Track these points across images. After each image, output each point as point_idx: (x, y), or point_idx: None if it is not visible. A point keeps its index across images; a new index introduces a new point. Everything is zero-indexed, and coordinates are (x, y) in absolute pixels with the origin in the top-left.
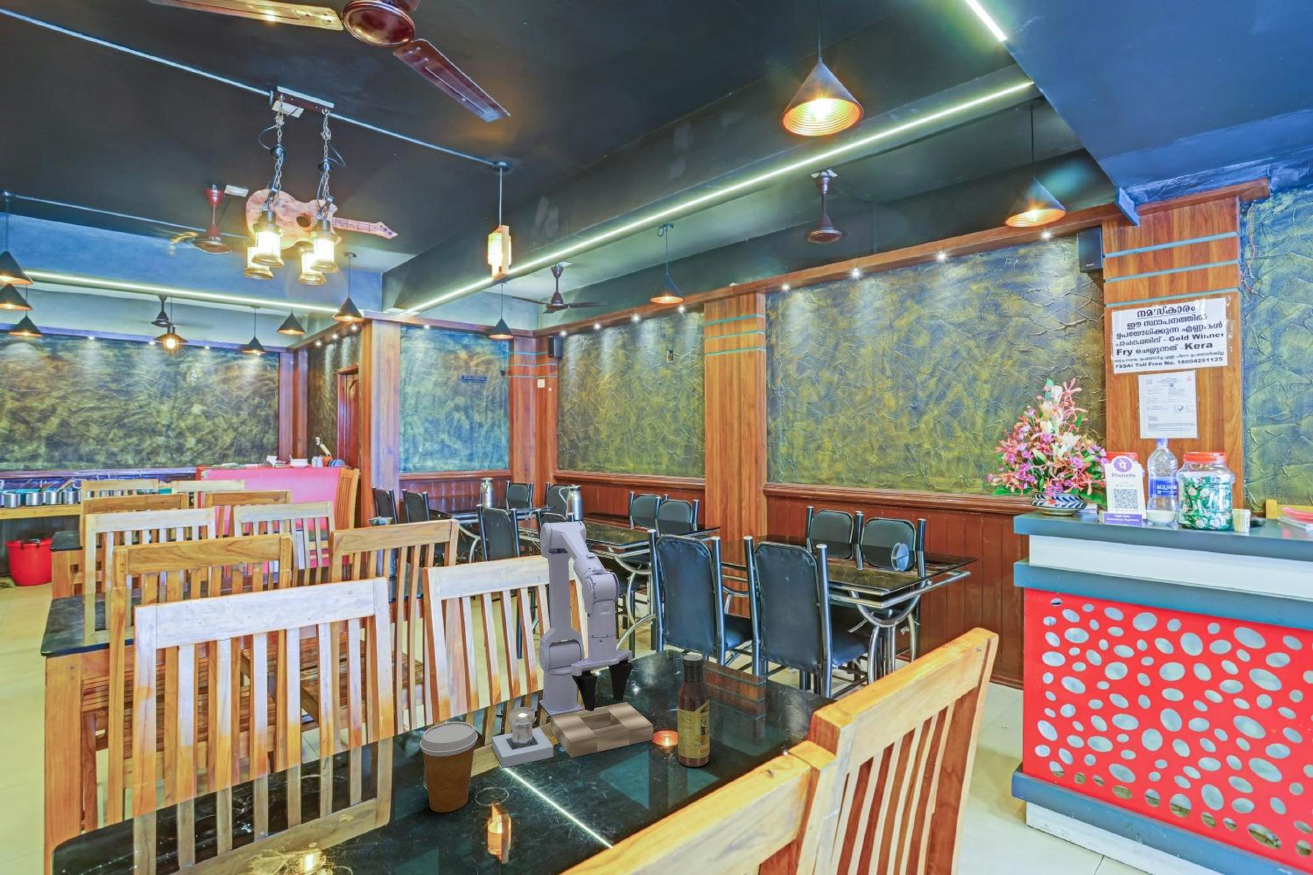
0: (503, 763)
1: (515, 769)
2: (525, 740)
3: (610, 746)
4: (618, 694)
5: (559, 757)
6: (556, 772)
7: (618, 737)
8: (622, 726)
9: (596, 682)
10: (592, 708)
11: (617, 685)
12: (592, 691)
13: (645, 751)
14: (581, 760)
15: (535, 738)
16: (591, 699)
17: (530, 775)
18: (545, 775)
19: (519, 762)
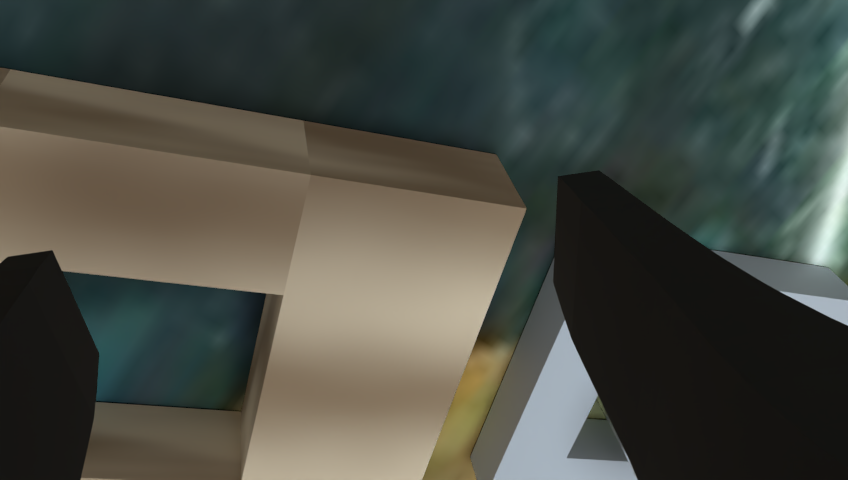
0: (837, 281)
1: (802, 217)
2: None
3: (189, 109)
4: (47, 343)
5: (545, 200)
6: (690, 39)
7: (105, 121)
8: (3, 215)
9: (788, 417)
10: (606, 181)
11: (16, 471)
12: (757, 313)
13: None
14: (467, 80)
15: (590, 403)
16: (695, 242)
17: (808, 107)
18: (759, 49)
19: (754, 261)
